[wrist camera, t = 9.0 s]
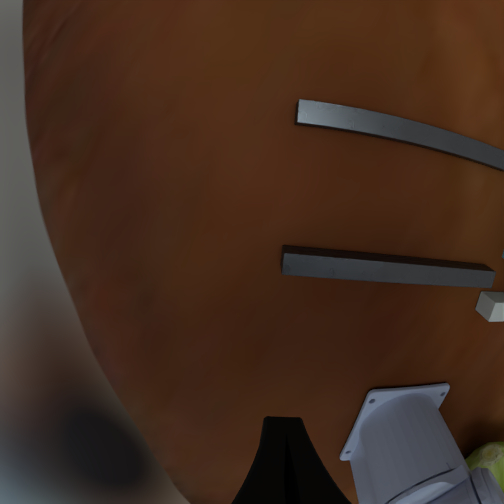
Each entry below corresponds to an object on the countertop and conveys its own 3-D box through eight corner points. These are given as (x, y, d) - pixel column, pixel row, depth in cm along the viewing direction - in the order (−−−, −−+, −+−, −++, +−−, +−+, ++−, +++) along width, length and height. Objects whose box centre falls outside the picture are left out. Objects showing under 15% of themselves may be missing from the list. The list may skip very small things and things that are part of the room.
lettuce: (521, 379, 22) (573, 448, 10) (505, 453, 27) (532, 505, 15) (416, 445, 24) (449, 535, 13) (428, 498, 29) (447, 556, 18)
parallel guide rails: (480, 279, 18) (491, 288, 17) (280, 264, 18) (281, 274, 17) (503, 154, 15) (517, 156, 14) (296, 103, 15) (299, 99, 14)
